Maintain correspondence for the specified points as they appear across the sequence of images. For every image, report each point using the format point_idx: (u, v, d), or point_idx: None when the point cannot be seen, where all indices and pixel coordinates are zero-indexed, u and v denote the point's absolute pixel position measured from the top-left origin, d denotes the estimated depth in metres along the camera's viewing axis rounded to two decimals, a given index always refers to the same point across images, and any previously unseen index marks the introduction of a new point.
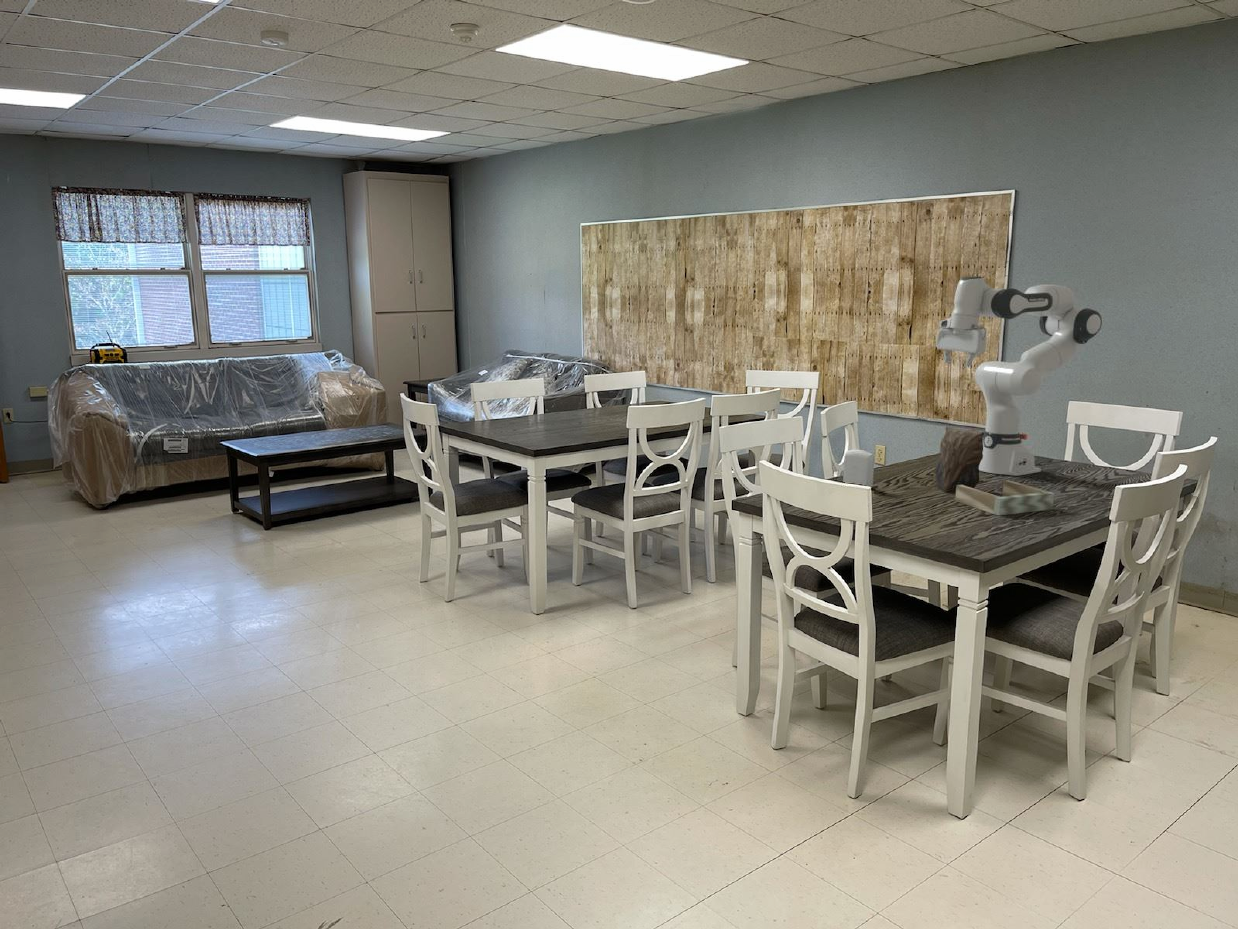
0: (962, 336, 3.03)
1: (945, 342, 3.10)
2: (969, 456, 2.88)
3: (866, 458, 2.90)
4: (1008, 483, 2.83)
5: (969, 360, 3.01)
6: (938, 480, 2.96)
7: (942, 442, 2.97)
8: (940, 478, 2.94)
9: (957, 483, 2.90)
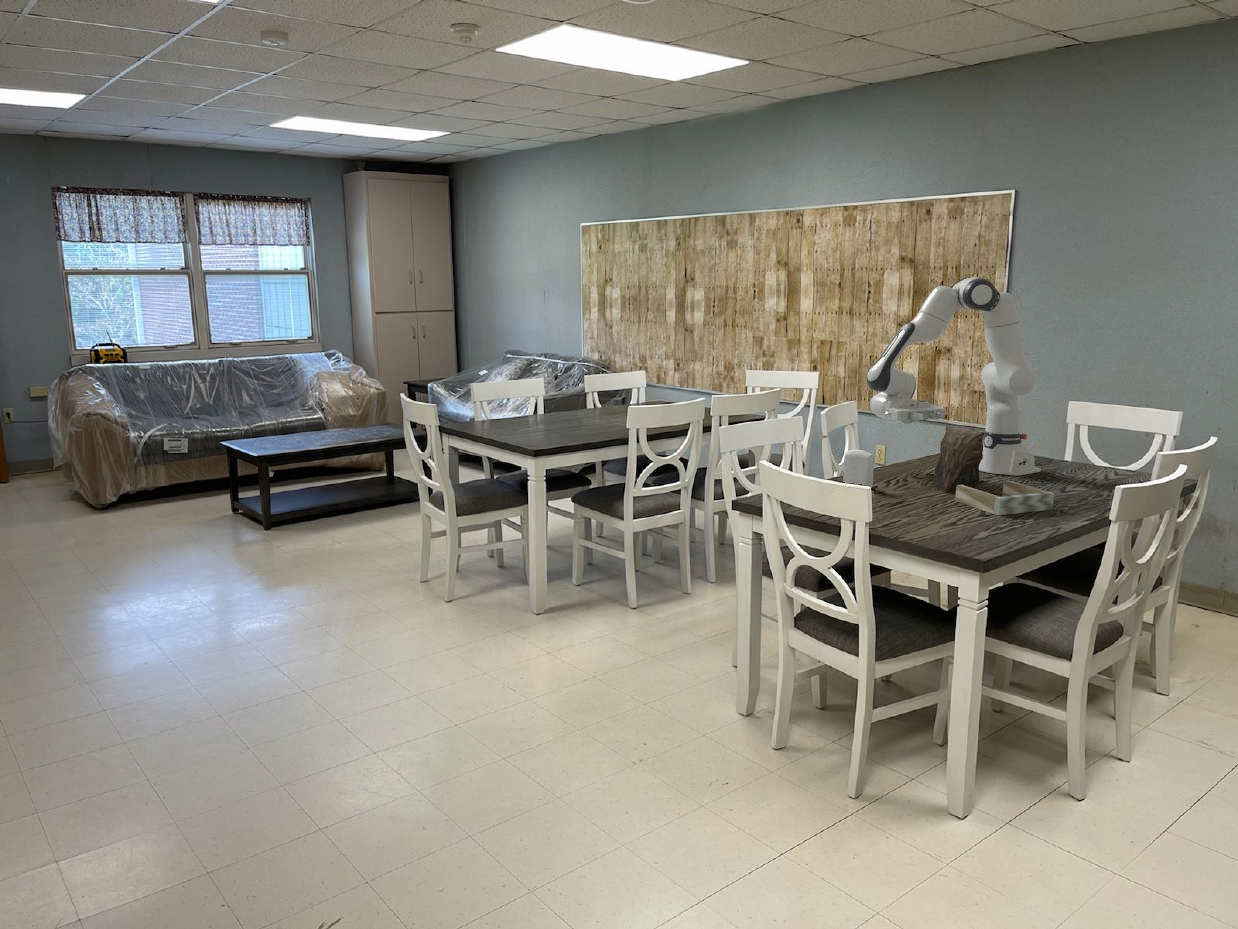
0: None
1: None
2: (969, 456, 2.88)
3: (866, 458, 2.90)
4: (1008, 483, 2.83)
5: (917, 417, 3.01)
6: (938, 480, 2.96)
7: (942, 442, 2.97)
8: (940, 478, 2.94)
9: (957, 483, 2.90)
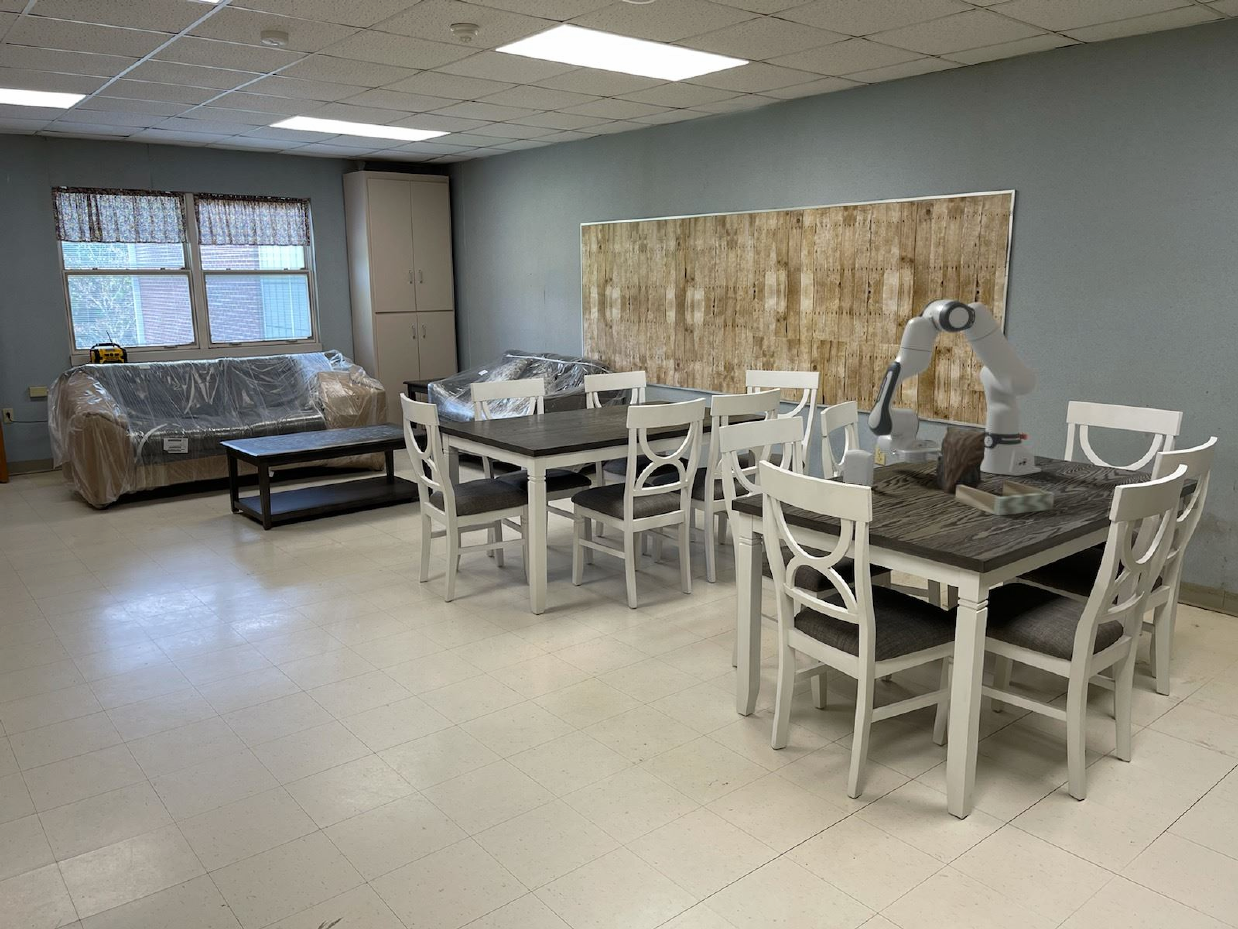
0: None
1: None
2: (970, 456, 2.88)
3: (866, 458, 2.90)
4: (1008, 483, 2.83)
5: (932, 458, 3.00)
6: (939, 480, 2.96)
7: (943, 442, 2.96)
8: (942, 478, 2.93)
9: (959, 483, 2.89)
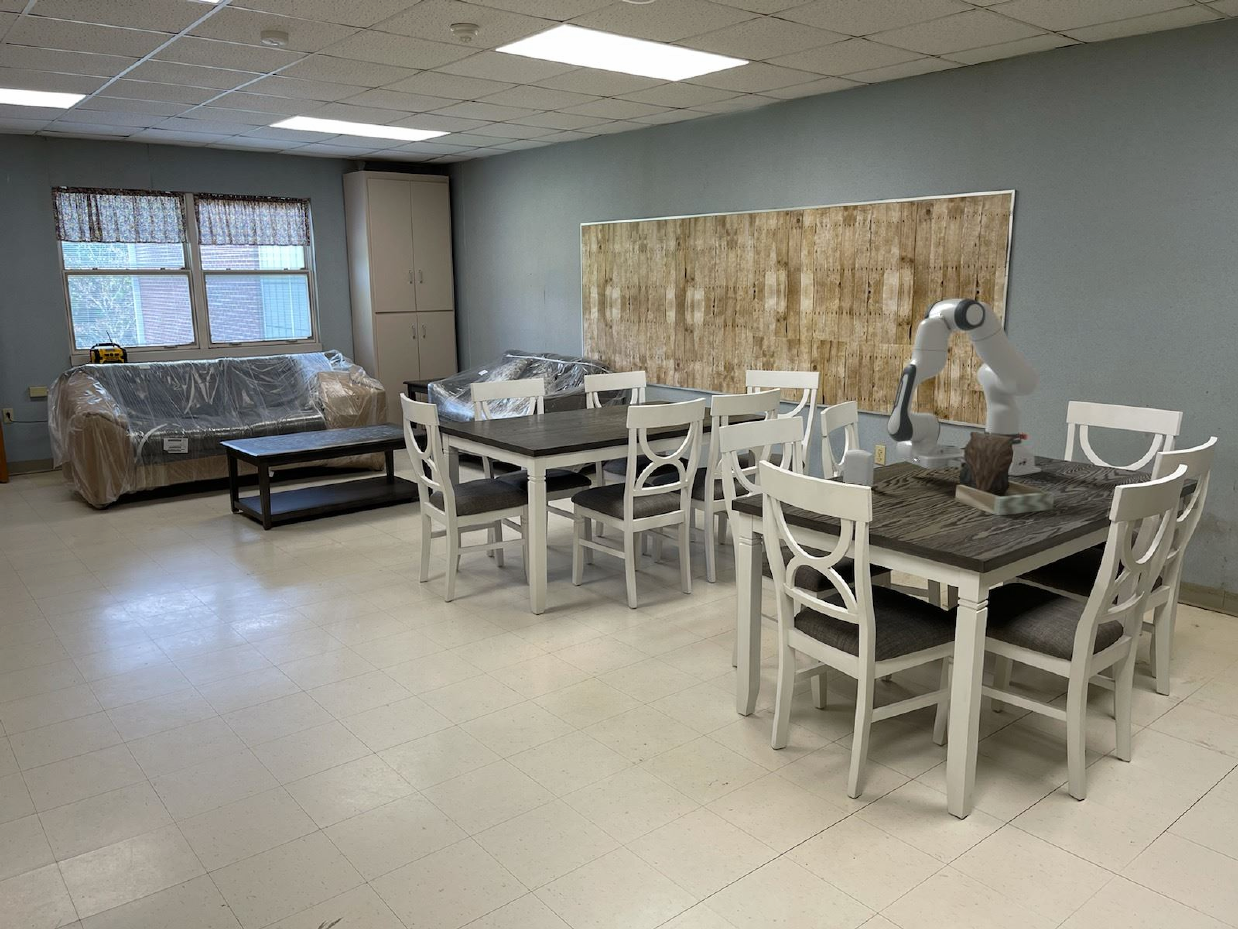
0: None
1: None
2: (1001, 462, 2.79)
3: (866, 458, 2.90)
4: None
5: (955, 464, 2.90)
6: None
7: (967, 448, 2.86)
8: (970, 486, 2.83)
9: (991, 490, 2.80)
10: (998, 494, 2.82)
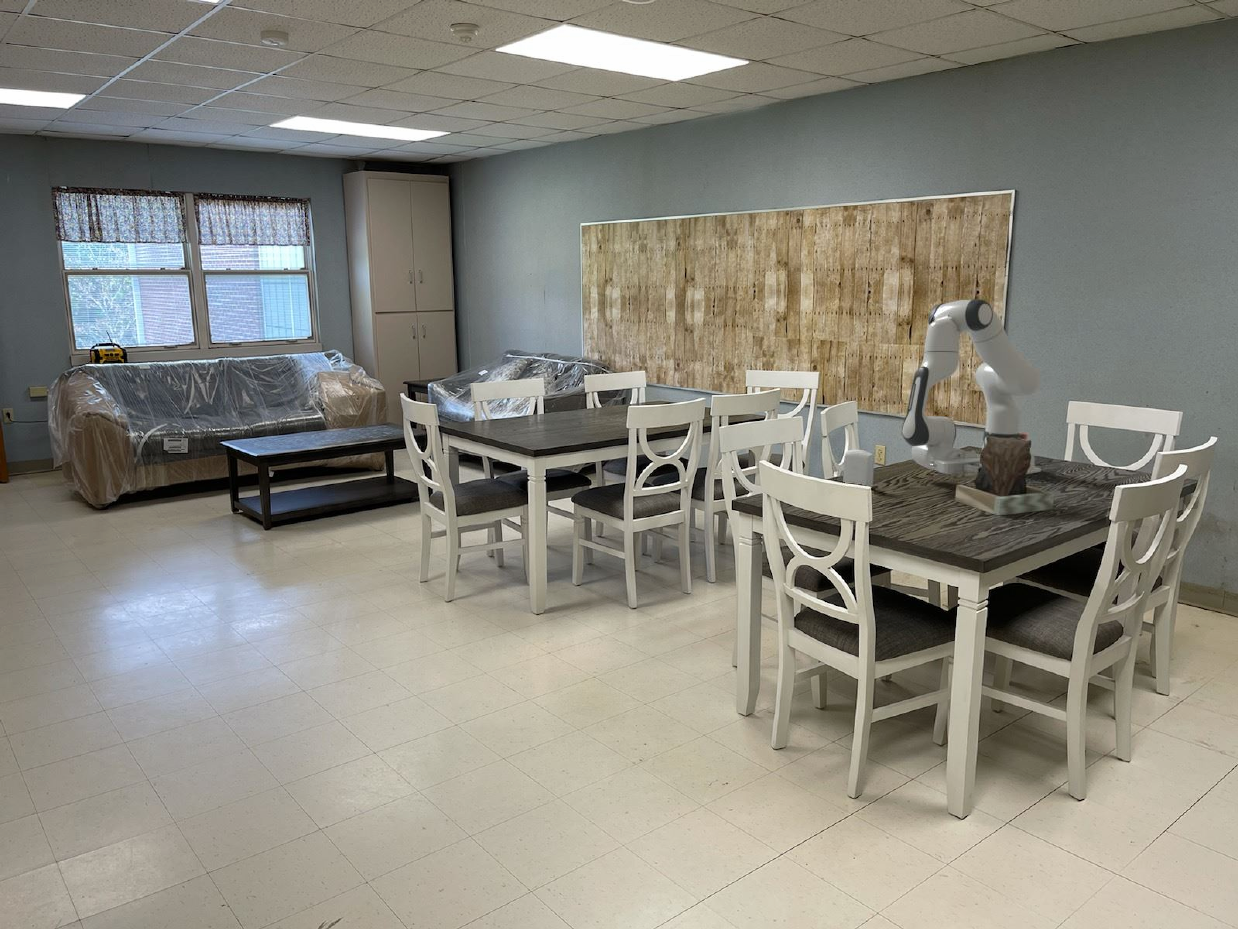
0: None
1: None
2: (1020, 467, 2.73)
3: (866, 458, 2.90)
4: None
5: (972, 469, 2.83)
6: None
7: (983, 453, 2.79)
8: (988, 492, 2.76)
9: None
10: None
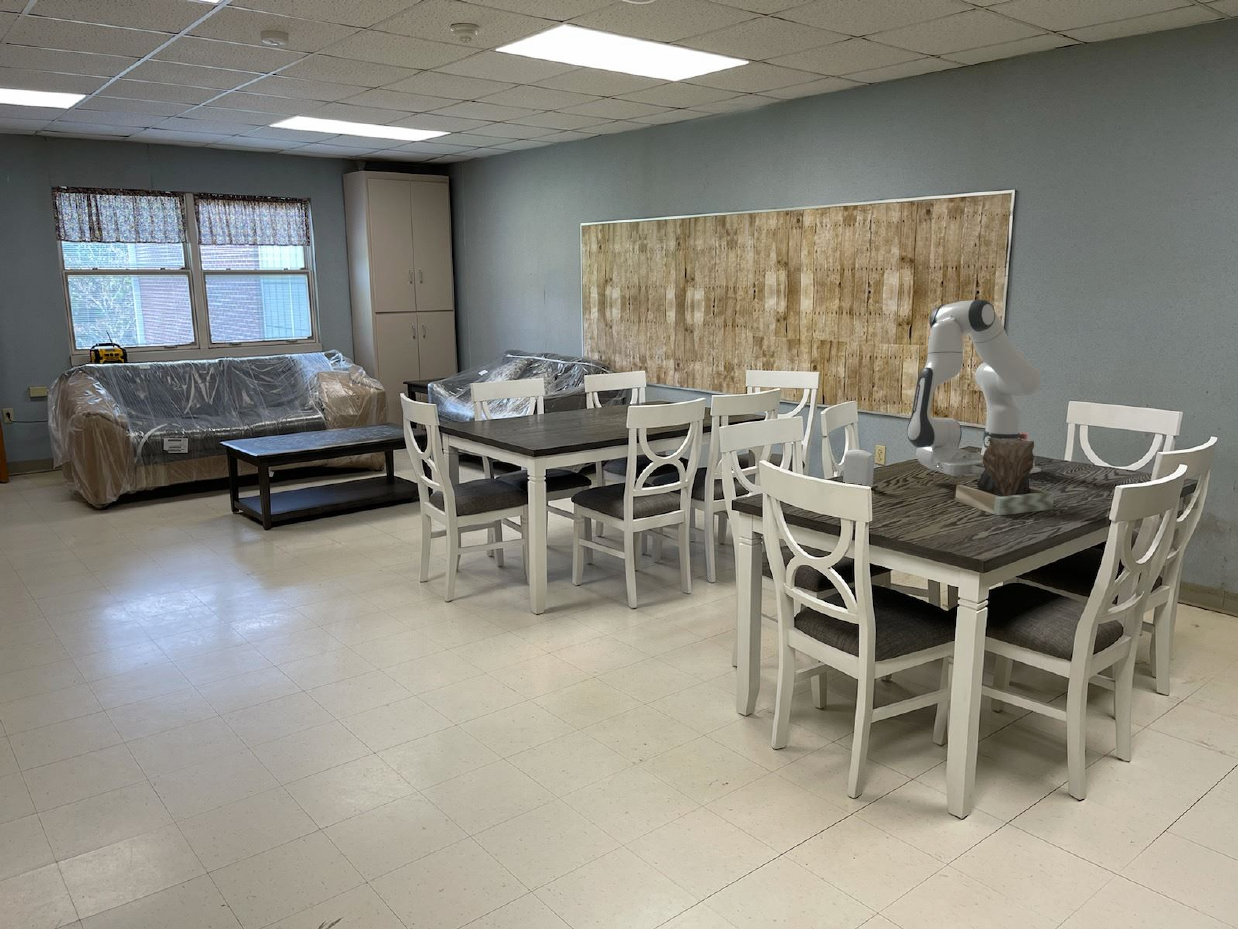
0: None
1: None
2: (1024, 468, 2.71)
3: (866, 458, 2.90)
4: None
5: (979, 471, 2.81)
6: None
7: (986, 455, 2.76)
8: (994, 494, 2.73)
9: None
10: None
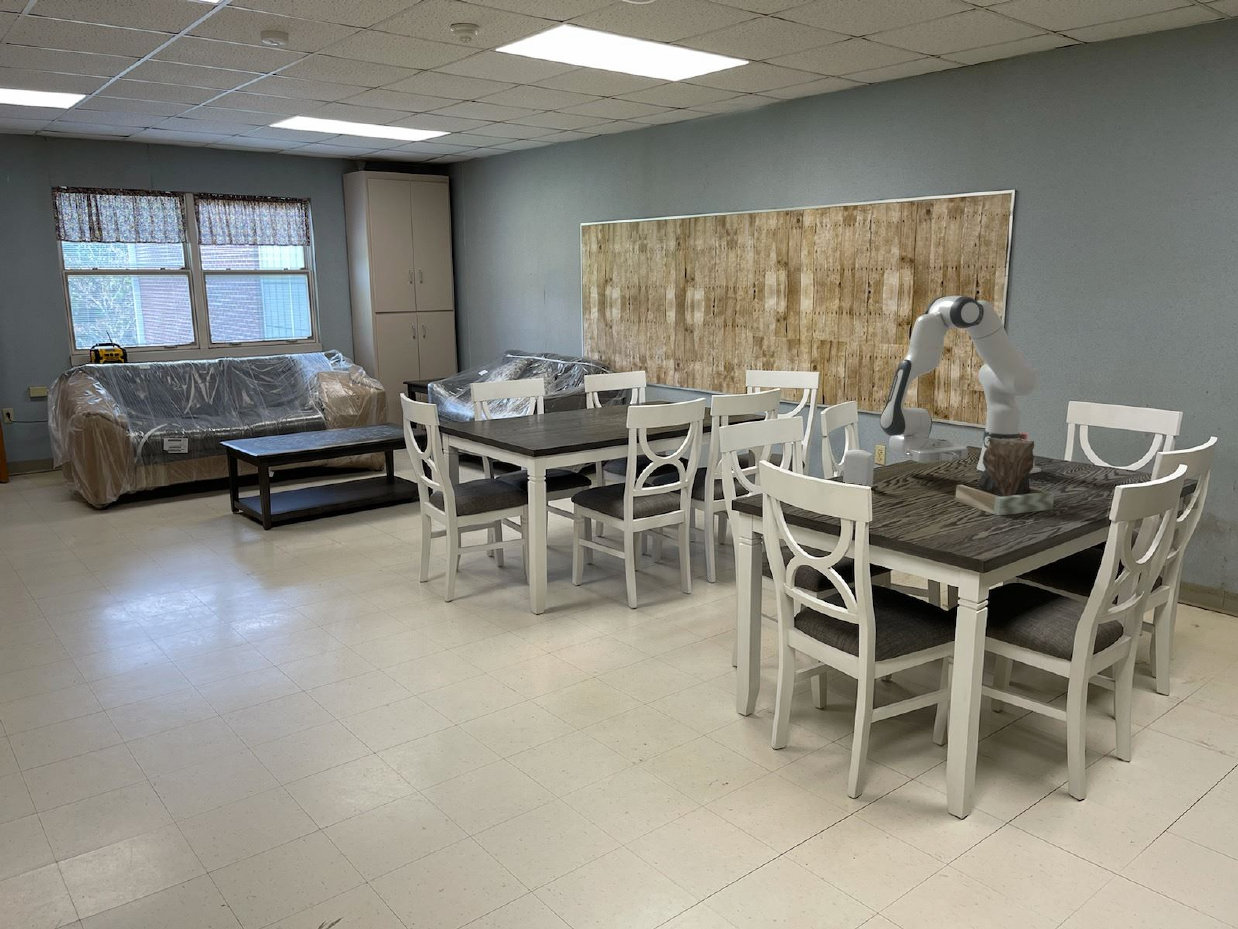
0: None
1: None
2: (1024, 468, 2.71)
3: (866, 458, 2.90)
4: None
5: (947, 458, 2.95)
6: None
7: (986, 455, 2.76)
8: (994, 494, 2.73)
9: None
10: None
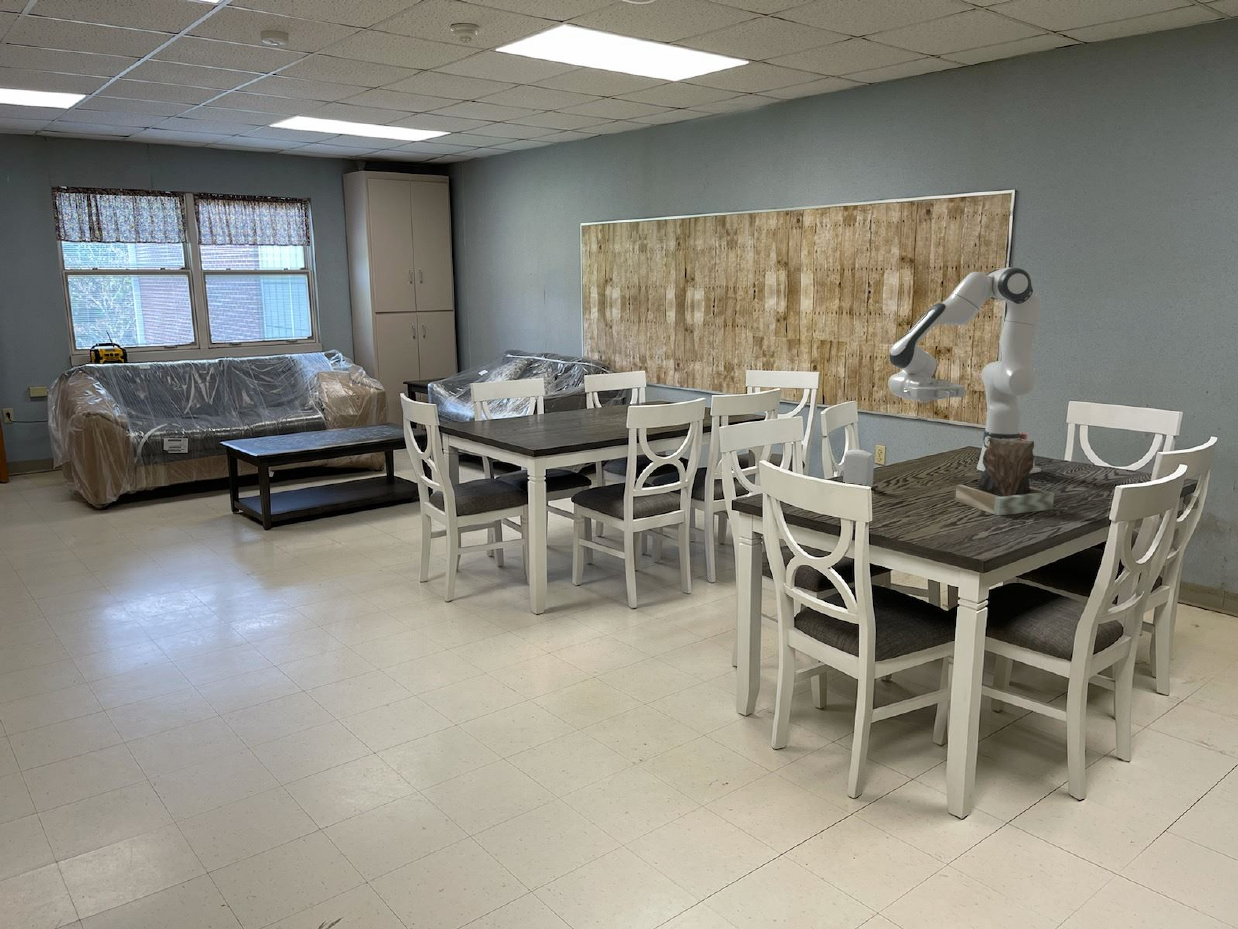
0: None
1: None
2: (1024, 468, 2.71)
3: (866, 458, 2.90)
4: None
5: (944, 395, 2.98)
6: None
7: (986, 455, 2.76)
8: (994, 494, 2.73)
9: None
10: None
